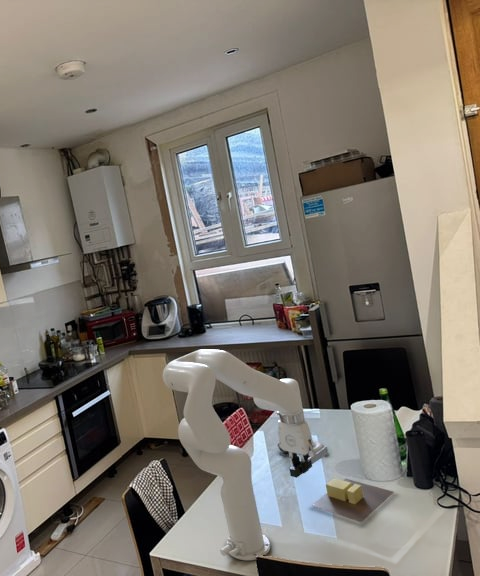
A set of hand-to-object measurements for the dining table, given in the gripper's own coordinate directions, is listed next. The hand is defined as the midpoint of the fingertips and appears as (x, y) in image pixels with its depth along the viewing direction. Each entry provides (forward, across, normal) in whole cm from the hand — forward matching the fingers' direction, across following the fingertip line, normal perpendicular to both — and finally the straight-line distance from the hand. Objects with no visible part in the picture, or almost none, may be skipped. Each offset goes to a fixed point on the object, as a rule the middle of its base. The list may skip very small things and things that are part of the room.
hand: (301, 470), depth 167 cm
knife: (0, 0, +5) cm, 5 cm away
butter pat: (+9, +13, +6) cm, 17 cm away
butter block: (+9, +8, +7) cm, 14 cm away
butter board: (+10, +12, +7) cm, 17 cm away
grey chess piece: (+10, -25, +25) cm, 36 cm away
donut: (+10, -17, +30) cm, 36 cm away
